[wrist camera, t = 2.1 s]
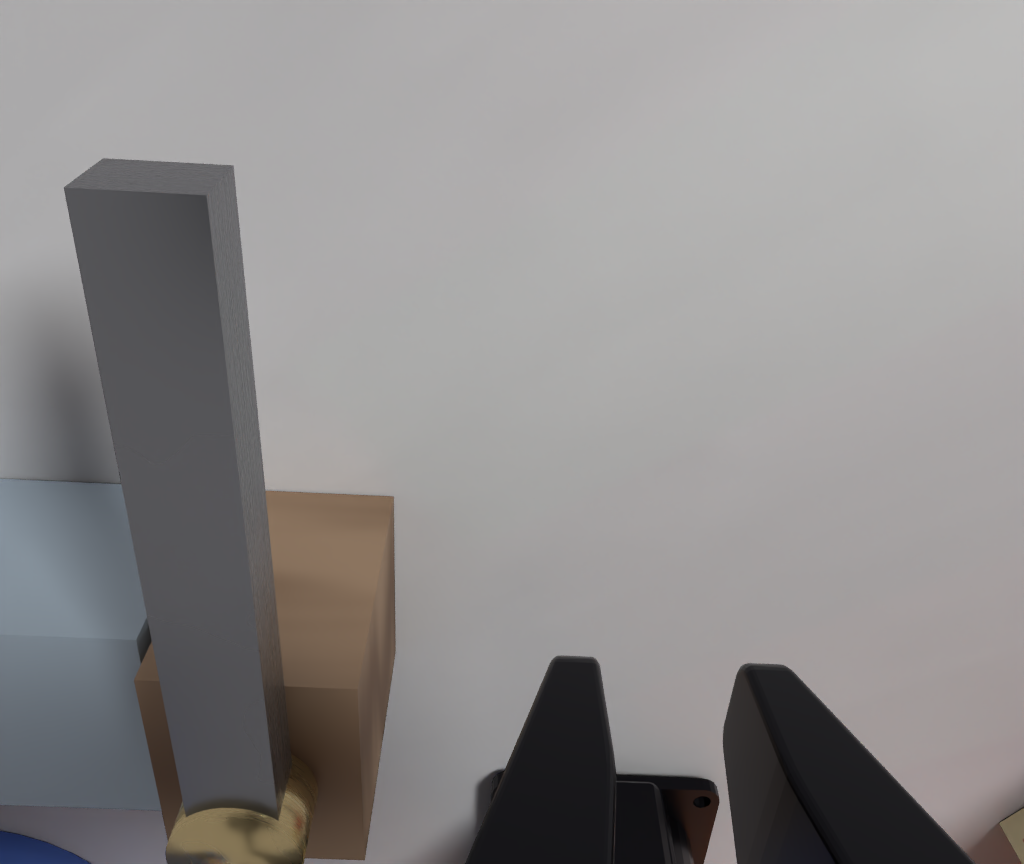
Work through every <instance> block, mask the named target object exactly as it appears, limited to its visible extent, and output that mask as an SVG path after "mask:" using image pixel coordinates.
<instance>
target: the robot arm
mask: <svg viewBox="0 0 1024 864" xmlns="http://www.w3.org/2000/svg"><path fill="white" fill-rule="evenodd" d="M723 751H724V760H725V768H726V776H727V784H728V792H729V801H730V809H731V817H732V825H733V833H734V841H735V849H736V857H737V864H975V863H974V862H973V860H972V859H971V858H970V857H969V856H968V855H967V854H966V853H965V852H964V851H963V850H962V849H961V848H960V847H959V846H958V845H957V844H956V843H955V842H954V840H953V839H952V838H951V837H950V836H949V835H948V834H947V833H946V832H945V831H944V830H943V829H942V828H941V827H940V826H939V825H938V824H937V823H936V822H935V820H934V819H933V818H932V817H931V816H930V815H929V814H928V813H927V812H926V811H925V810H924V809H923V808H922V807H921V806H920V805H919V804H918V803H917V802H916V800H915V799H914V798H913V797H912V796H911V795H910V794H909V793H908V792H907V791H906V790H905V789H904V788H903V787H902V786H901V785H900V784H899V783H898V781H897V780H896V779H895V778H894V777H893V776H892V775H891V774H890V773H889V772H888V771H887V770H886V769H885V768H884V767H883V766H882V765H881V764H880V763H879V761H878V760H877V759H876V758H875V757H874V756H873V755H872V754H871V753H870V752H869V751H868V750H867V749H866V748H865V747H864V746H863V745H862V744H861V743H860V741H859V740H858V739H857V738H856V737H855V736H854V735H853V734H852V733H851V732H850V731H849V730H848V729H847V728H846V727H845V726H844V725H843V724H842V723H841V721H840V720H839V719H838V718H837V717H836V716H835V715H834V714H833V713H832V712H831V711H830V710H829V709H828V708H827V707H826V706H825V705H824V704H823V703H822V701H821V700H820V699H819V698H818V697H817V696H816V695H815V694H814V693H813V692H812V691H811V690H810V689H809V688H808V687H807V686H806V685H805V684H804V682H803V681H802V680H801V679H800V678H799V677H798V676H797V675H796V674H795V673H794V672H793V671H792V670H791V669H789V668H788V667H786V666H784V665H778V664H754V663H748V664H744V665H743V666H741V667H740V669H739V671H738V672H737V675H736V679H735V683H734V687H733V691H732V695H731V699H730V703H729V707H728V711H727V715H726V719H725V723H724V730H723ZM718 806H719V795H718V791H717V786H716V785H715V784H714V782H712V781H710V780H707V779H696V778H670V777H643V776H617V775H616V769H615V760H614V752H613V745H612V739H611V733H610V727H609V720H608V714H607V708H606V702H605V696H604V689H603V683H602V677H601V671H600V665H599V663H598V661H597V660H596V659H595V658H593V657H582V656H556V657H555V658H554V659H553V660H552V661H551V663H550V665H549V667H548V670H547V672H546V674H545V677H544V679H543V681H542V684H541V686H540V688H539V691H538V693H537V696H536V698H535V700H534V703H533V705H532V707H531V710H530V712H529V714H528V717H527V719H526V721H525V724H524V726H523V729H522V731H521V733H520V736H519V738H518V740H517V743H516V745H515V747H514V750H513V752H512V754H511V757H510V759H509V762H508V764H507V766H506V769H505V771H504V772H503V773H500V774H498V775H497V776H496V777H494V779H493V781H492V792H491V804H490V806H489V809H488V811H487V813H486V816H485V818H484V820H483V823H482V825H481V828H480V830H479V832H478V835H477V837H476V839H475V842H474V844H473V846H472V849H471V851H470V853H469V856H468V858H467V860H466V863H465V864H703V863H704V860H705V856H706V852H707V848H708V844H709V840H710V837H711V833H712V829H713V825H714V821H715V817H716V814H717V810H718Z"/></svg>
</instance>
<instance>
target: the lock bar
mask: <svg viewBox="0 0 1024 864" xmlns="http://www.w3.org/2000/svg"><path fill="white" fill-rule="evenodd" d="M64 191H65V196H66V201H67V206H68V211H69V217H70V222H71V227H72V232H73V237H74V242H75V248H76V253H77V258H78V263H79V268H80V273H81V278H82V284H83V289H84V294H85V299H86V304H87V309H88V315H89V320H90V325H91V330H92V335H93V340H94V346H95V351H96V356H97V361H98V366H99V371H100V377H101V382H102V387H103V392H104V397H105V402H106V407H107V413H108V418H109V423H110V428H111V433H112V438H113V444H114V449H115V454H116V459H117V464H118V469H119V475H120V480H121V485H122V490H123V495H124V500H125V505H126V511H127V516H128V521H129V526H130V531H131V536H132V542H133V547H134V552H135V557H136V562H137V567H138V573H139V578H140V583H141V588H142V593H143V598H144V604H145V609H146V614H147V619H148V624H149V629H150V634H151V640H152V645H153V650H154V655H155V660H156V665H157V671H158V676H159V681H160V686H161V691H162V696H163V702H164V707H165V712H166V717H167V722H168V727H169V733H170V738H171V743H172V748H173V753H174V758H175V763H176V769H177V774H178V779H179V784H180V789H181V794H182V800H183V801H182V804H181V807H180V810H179V812H178V815H177V818H176V821H175V824H174V827H173V830H172V832H171V835H170V838H169V841H168V844H167V847H166V860H167V863H168V864H303V863H304V859H305V854H306V849H307V844H308V839H309V835H310V830H311V825H312V820H313V815H314V811H315V806H316V801H317V796H318V784H317V780H316V778H315V776H314V774H313V772H312V771H311V770H310V768H309V767H308V766H307V765H306V764H305V763H304V762H303V761H301V760H300V759H299V758H297V757H296V756H294V755H292V754H291V747H290V737H289V727H288V717H287V707H286V696H285V686H284V676H283V666H282V656H281V645H280V635H279V625H278V615H277V605H276V595H275V584H274V574H273V564H272V554H271V544H270V533H269V523H268V513H267V503H266V493H265V482H264V472H263V462H262V452H261V442H260V432H259V421H258V411H257V401H256V391H255V381H254V370H253V360H252V350H251V340H250V330H249V320H248V309H247V299H246V289H245V279H244V269H243V258H242V248H241V238H240V228H239V218H238V207H237V197H236V187H235V177H234V167H233V166H232V165H214V164H195V163H177V162H159V161H141V160H123V159H105V158H103V159H102V160H100V161H99V162H98V163H96V164H95V165H94V166H92V167H91V168H90V169H88V170H87V171H85V172H84V173H83V174H81V175H80V176H79V177H77V178H76V179H75V180H73V181H72V182H71V183H69V184H68V185H67V186H65V187H64Z"/></svg>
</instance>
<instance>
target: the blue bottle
mask: <svg viewBox="0 0 1024 864" xmlns="http://www.w3.org/2000/svg"><path fill="white" fill-rule="evenodd" d="M0 864H90V863H89V862H87V861H85V860H83V859H82V858H80V857H78V856H76V855H75V854H73V853H70V852H68V851H66V850H63V849H61V848H58V847H56V846H54V845H51V844H49V843H46V842H43V841H40V840H36V839H33V838H29V837H26V836H22V835H19V834H14V833H8V832H2V831H0Z"/></svg>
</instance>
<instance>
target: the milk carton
mask: <svg viewBox="0 0 1024 864" xmlns="http://www.w3.org/2000/svg"><path fill="white" fill-rule="evenodd" d="M999 824H1000V826H1001V827H1002V829H1003V831H1004V833H1005V835H1006V836H1007V838H1008V840H1009V842H1010V843H1011V845H1012V847H1013V849H1014V851H1015V852H1016V854H1017V856H1018V858H1019V859H1020V861H1021V863H1022V864H1024V808H1023V809H1021V810H1020V811H1018V812H1016V813H1015V814H1013V815H1011V816H1010V817H1008V818H1007V819H1005V820H1003V821H1002V822H1000V823H999Z"/></svg>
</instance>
